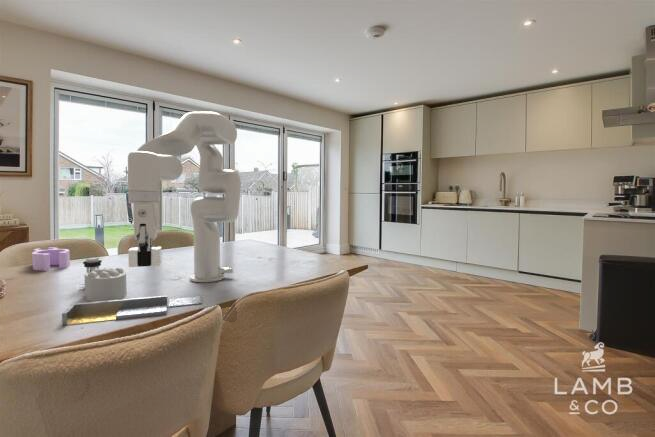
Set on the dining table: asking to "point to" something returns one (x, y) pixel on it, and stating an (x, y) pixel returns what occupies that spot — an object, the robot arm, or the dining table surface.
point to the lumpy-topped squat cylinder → (105, 284)
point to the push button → (91, 265)
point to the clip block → (154, 256)
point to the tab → (185, 301)
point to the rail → (114, 310)
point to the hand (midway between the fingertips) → (145, 263)
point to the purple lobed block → (50, 258)
